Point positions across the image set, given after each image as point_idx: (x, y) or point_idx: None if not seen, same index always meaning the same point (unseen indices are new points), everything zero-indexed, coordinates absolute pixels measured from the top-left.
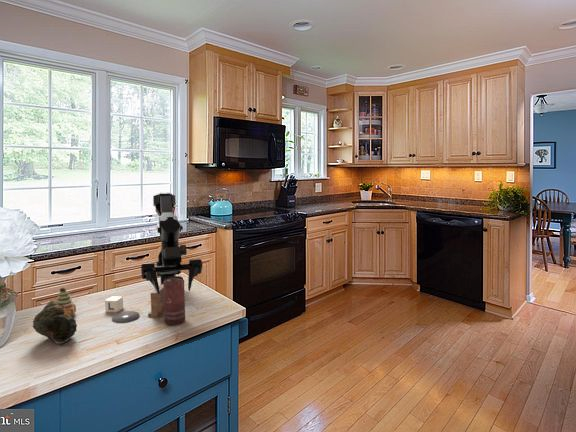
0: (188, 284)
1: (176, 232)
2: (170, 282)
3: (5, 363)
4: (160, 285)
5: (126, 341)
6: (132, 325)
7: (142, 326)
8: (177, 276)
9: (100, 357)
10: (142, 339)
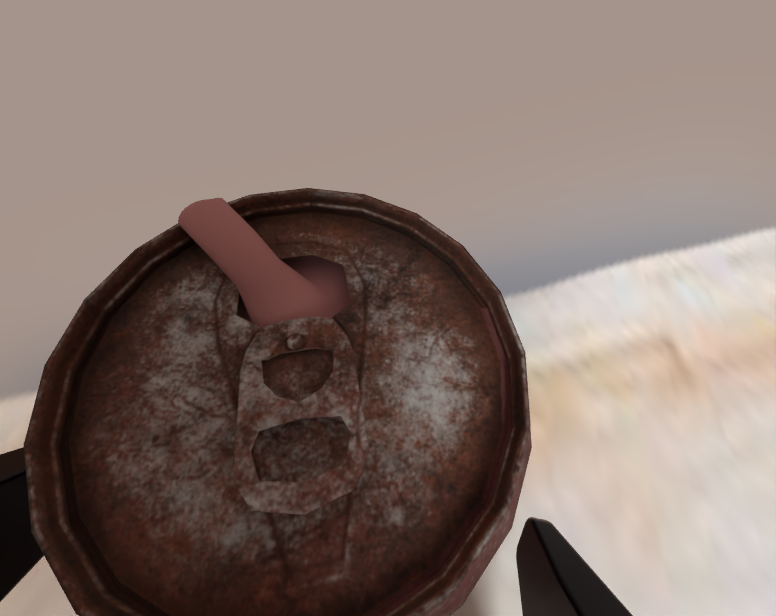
0: (20, 494)
1: None
2: (419, 228)
3: None
4: None
5: (633, 343)
6: (637, 573)
7: (565, 508)
8: (70, 574)
9: (711, 258)
10: (557, 325)
